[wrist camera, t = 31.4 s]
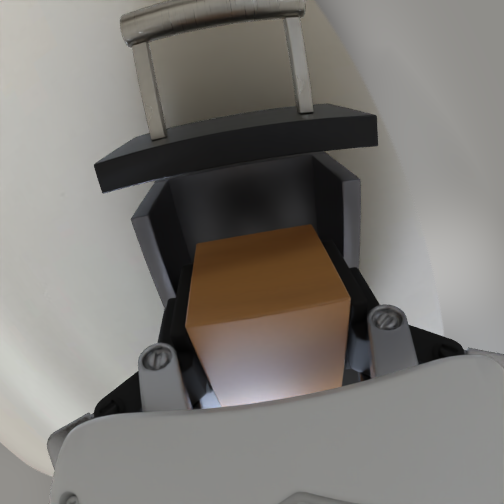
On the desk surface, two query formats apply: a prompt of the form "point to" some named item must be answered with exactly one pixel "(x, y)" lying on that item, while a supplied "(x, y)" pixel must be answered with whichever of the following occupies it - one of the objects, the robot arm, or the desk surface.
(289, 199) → the drawer with bar handle
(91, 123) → the desk surface
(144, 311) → the desk surface
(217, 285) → the tan wooden cube
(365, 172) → the desk surface
